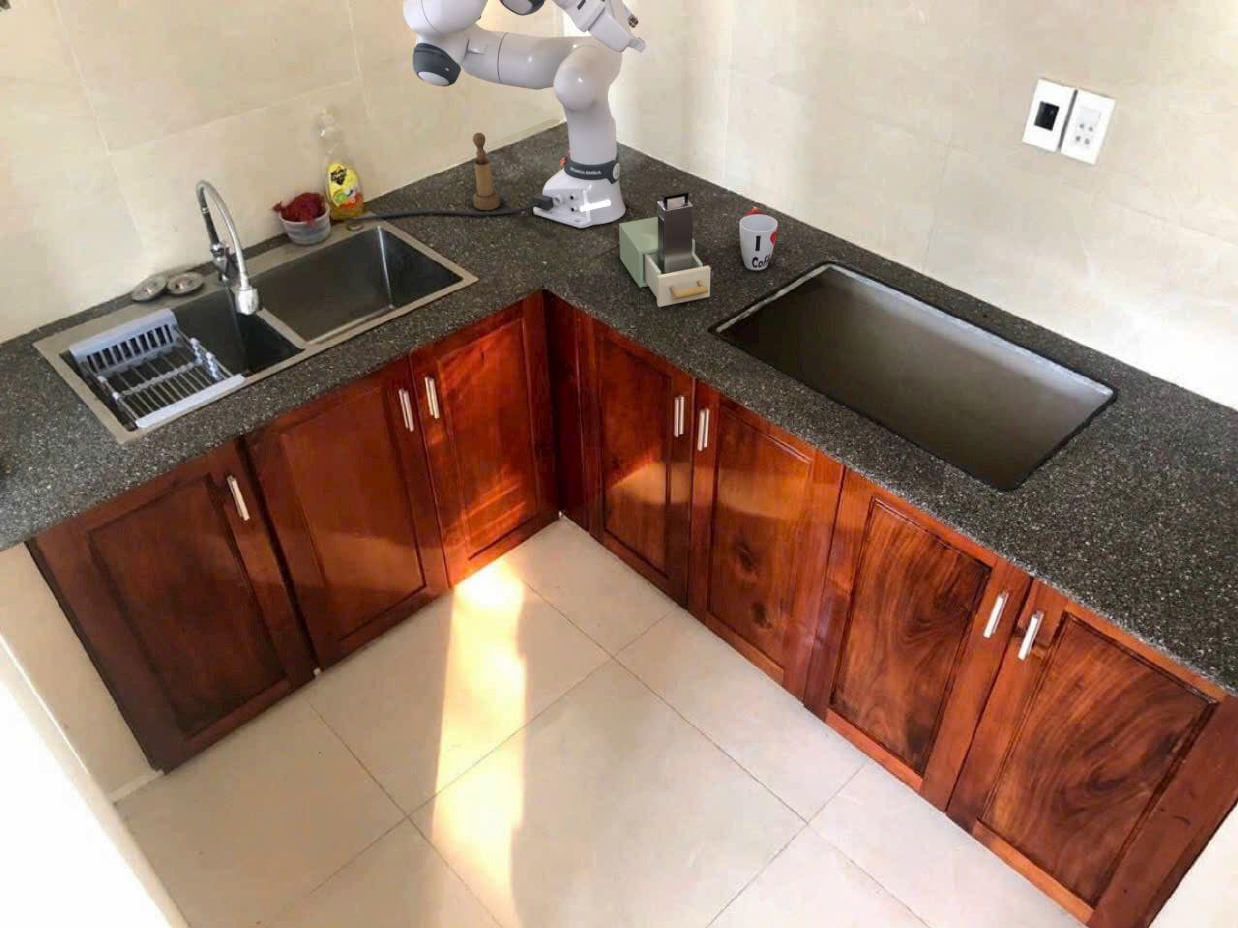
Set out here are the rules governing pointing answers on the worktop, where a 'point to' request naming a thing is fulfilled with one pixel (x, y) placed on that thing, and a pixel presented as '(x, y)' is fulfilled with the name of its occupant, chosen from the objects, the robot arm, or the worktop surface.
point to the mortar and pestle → (484, 178)
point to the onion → (754, 212)
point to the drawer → (676, 281)
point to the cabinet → (639, 245)
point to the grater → (675, 232)
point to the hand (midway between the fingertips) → (639, 35)
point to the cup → (757, 240)
